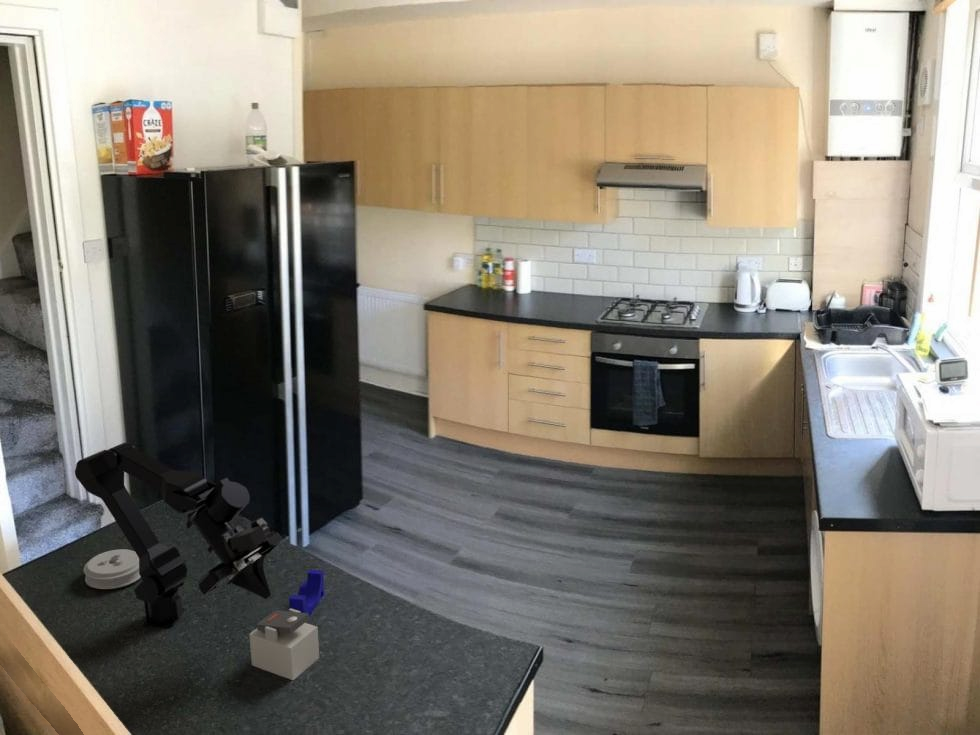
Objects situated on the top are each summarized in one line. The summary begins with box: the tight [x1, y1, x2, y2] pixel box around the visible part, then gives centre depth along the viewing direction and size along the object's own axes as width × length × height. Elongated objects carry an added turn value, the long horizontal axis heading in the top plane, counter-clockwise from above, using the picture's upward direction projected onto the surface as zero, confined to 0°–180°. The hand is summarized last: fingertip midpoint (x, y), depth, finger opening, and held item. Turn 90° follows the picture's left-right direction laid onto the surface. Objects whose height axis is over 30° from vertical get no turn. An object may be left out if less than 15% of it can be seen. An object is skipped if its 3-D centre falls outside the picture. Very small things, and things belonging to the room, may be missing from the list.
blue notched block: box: [288, 569, 325, 623], centre depth 199 cm, size 12×4×6 cm, turn 170°
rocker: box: [255, 610, 311, 634], centre depth 178 cm, size 8×6×1 cm, turn 62°
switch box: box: [248, 607, 320, 681], centre depth 180 cm, size 10×8×9 cm
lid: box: [83, 548, 141, 590], centre depth 210 cm, size 13×13×5 cm
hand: (268, 597), depth 179 cm, fingers closed
